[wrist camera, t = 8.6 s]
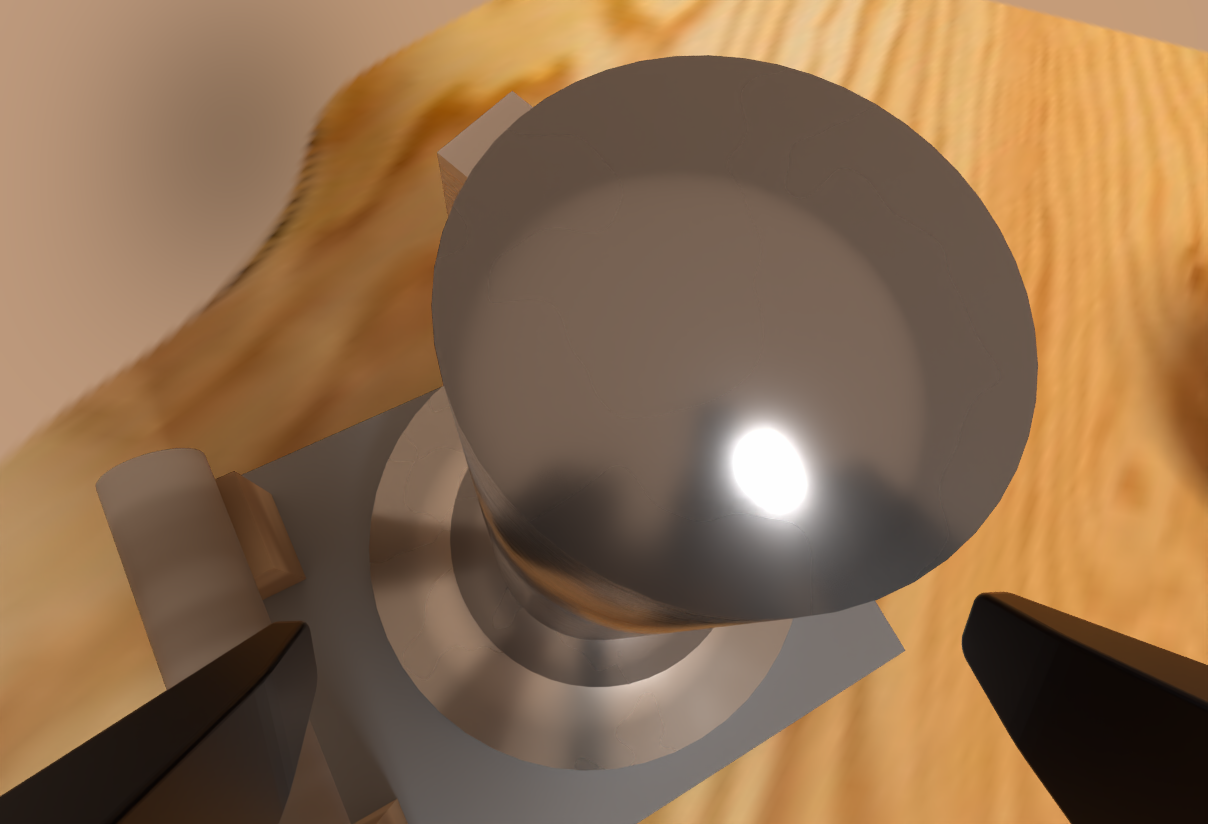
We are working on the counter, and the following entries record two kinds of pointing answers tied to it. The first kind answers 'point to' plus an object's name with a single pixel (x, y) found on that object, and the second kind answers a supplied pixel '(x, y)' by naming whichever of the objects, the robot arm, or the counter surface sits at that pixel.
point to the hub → (714, 360)
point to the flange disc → (493, 680)
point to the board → (435, 744)
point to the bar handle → (212, 584)
